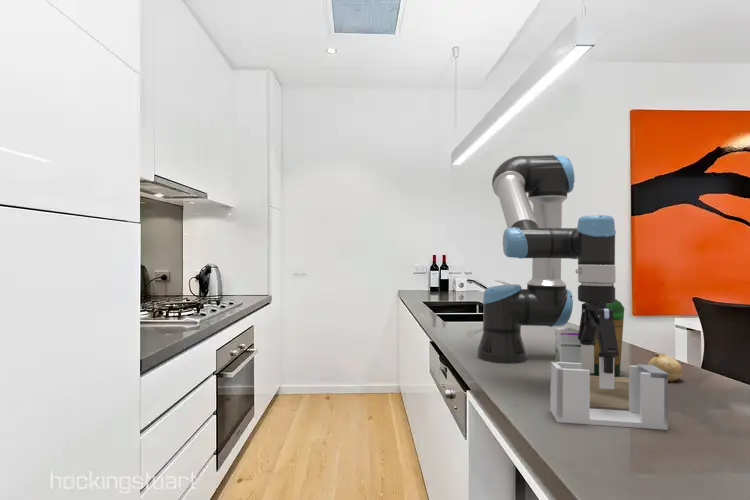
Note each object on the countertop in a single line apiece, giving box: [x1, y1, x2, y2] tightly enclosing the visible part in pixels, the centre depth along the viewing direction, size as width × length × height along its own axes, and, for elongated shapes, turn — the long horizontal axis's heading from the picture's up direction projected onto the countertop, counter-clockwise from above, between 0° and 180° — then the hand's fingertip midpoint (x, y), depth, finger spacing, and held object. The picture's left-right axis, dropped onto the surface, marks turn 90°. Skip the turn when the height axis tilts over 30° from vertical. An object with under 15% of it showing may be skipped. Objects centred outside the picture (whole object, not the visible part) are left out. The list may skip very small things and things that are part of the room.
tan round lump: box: [647, 352, 683, 383], centre depth 121 cm, size 8×8×7 cm
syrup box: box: [554, 327, 582, 363], centre depth 113 cm, size 6×6×14 cm
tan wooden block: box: [590, 375, 629, 410], centre depth 101 cm, size 4×14×6 cm, turn 81°
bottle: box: [583, 283, 625, 377], centre depth 125 cm, size 11×11×28 cm
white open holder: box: [549, 361, 669, 431], centre depth 91 cm, size 7×20×11 cm, turn 80°
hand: (596, 380), depth 100 cm, fingers open, 13 cm apart
